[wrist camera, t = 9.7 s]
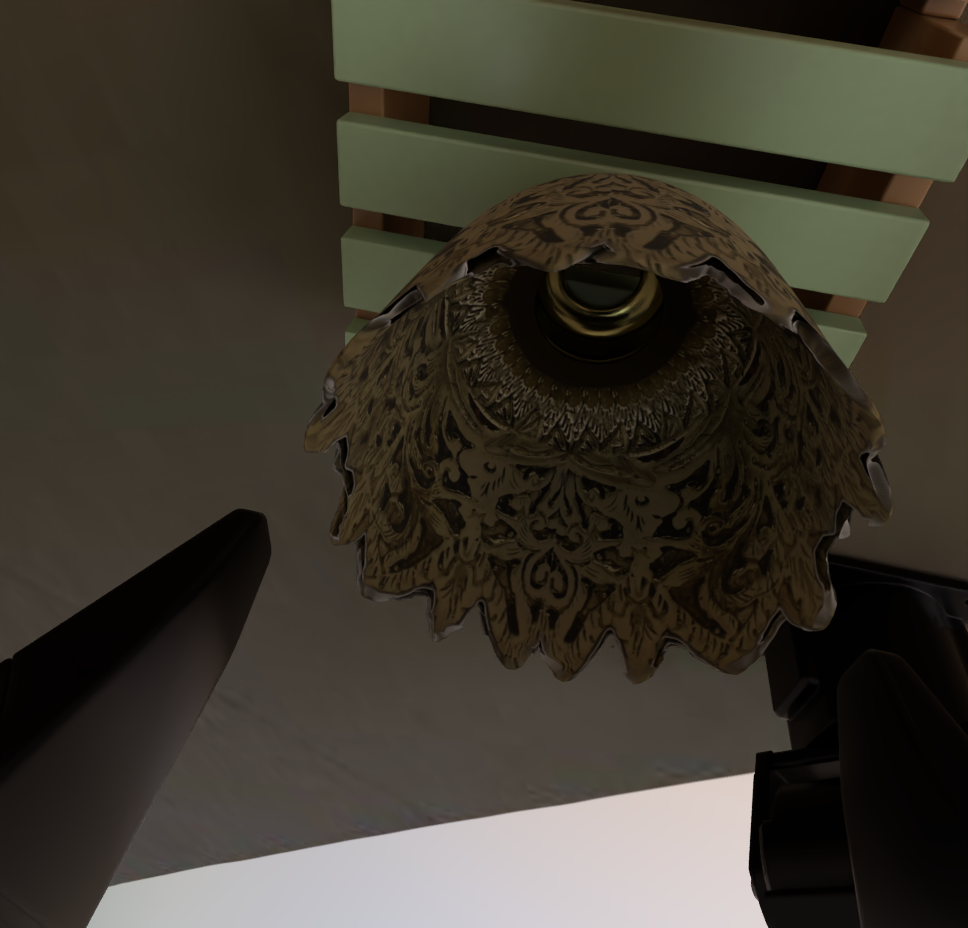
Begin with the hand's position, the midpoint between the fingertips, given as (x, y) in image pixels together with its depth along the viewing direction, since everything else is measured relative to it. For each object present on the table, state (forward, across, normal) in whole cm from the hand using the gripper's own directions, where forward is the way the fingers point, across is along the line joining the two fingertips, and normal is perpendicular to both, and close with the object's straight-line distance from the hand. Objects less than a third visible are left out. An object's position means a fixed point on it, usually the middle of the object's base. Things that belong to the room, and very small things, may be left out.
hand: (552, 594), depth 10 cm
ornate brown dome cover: (+8, 0, -2) cm, 8 cm away
